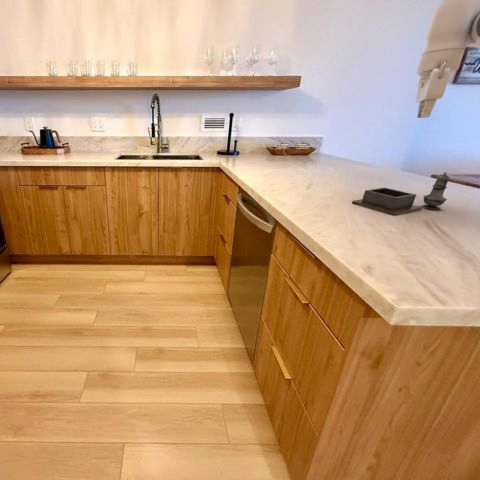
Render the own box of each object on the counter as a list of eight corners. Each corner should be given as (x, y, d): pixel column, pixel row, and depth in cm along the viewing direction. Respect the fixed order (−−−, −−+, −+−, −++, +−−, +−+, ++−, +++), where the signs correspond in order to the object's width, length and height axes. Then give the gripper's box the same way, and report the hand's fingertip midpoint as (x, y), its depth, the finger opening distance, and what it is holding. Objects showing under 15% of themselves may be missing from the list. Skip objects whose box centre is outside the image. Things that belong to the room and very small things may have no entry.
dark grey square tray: (421, 210, 94) (427, 195, 92) (394, 215, 89) (399, 200, 87) (377, 199, 106) (382, 185, 104) (351, 203, 101) (355, 189, 99)
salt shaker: (423, 209, 94) (438, 173, 89) (416, 204, 99) (429, 169, 94) (446, 211, 93) (462, 174, 88) (437, 206, 98) (452, 171, 93)
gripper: (463, 56, 71) (443, 116, 77) (446, 68, 87) (430, 118, 92) (430, 60, 75) (413, 117, 80) (419, 70, 90) (405, 118, 96)
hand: (422, 117), depth 86 cm, fingers open, 8 cm apart
